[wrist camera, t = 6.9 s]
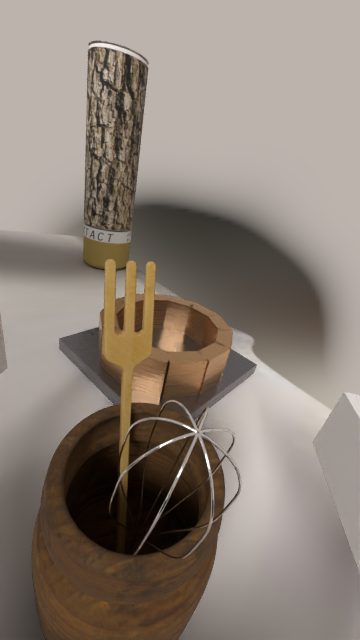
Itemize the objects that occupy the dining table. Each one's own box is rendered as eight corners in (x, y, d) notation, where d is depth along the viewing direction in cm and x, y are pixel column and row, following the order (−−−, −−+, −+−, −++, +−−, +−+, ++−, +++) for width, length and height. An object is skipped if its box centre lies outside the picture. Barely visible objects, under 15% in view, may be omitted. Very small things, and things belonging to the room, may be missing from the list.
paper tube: (105, 254, 47) (117, 66, 36) (136, 267, 45) (160, 68, 33) (73, 260, 42) (74, 40, 30) (106, 274, 39) (121, 40, 28)
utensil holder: (36, 751, 8) (-53, 520, 2) (39, 512, 12) (15, 252, 7) (218, 637, 10) (402, 396, 5) (161, 476, 15) (215, 265, 9)
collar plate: (59, 348, 23) (58, 305, 21) (162, 316, 31) (168, 283, 29) (157, 448, 16) (169, 399, 15) (253, 373, 25) (268, 336, 23)
